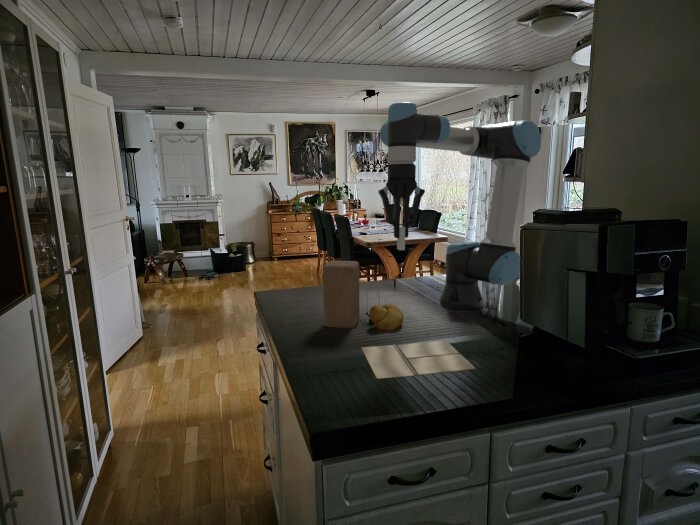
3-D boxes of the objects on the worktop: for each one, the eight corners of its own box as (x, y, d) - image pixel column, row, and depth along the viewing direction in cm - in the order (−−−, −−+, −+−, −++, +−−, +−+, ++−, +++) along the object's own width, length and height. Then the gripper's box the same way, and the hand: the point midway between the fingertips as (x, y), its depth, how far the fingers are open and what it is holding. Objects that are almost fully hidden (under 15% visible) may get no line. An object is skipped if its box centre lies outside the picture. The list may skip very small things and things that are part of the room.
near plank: (460, 358, 111) (460, 353, 111) (475, 373, 102) (475, 368, 102) (407, 363, 109) (407, 359, 109) (419, 379, 100) (418, 374, 100)
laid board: (395, 349, 118) (395, 344, 118) (417, 379, 100) (417, 374, 100) (361, 351, 117) (361, 346, 117) (377, 383, 98) (377, 377, 98)
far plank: (445, 344, 120) (445, 340, 120) (459, 357, 112) (459, 352, 111) (397, 349, 118) (397, 345, 118) (406, 362, 110) (406, 358, 109)
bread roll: (382, 319, 144) (382, 296, 143) (410, 323, 140) (410, 299, 138) (366, 331, 133) (366, 306, 131) (396, 336, 129) (397, 310, 127)
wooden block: (354, 329, 134) (353, 266, 131) (323, 327, 136) (321, 265, 133) (360, 319, 144) (359, 260, 140) (330, 318, 146) (329, 259, 142)
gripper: (420, 163, 122) (418, 246, 126) (375, 164, 120) (375, 248, 124) (429, 162, 114) (427, 250, 119) (381, 162, 112) (381, 252, 117)
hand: (400, 249), depth 121 cm, fingers closed
